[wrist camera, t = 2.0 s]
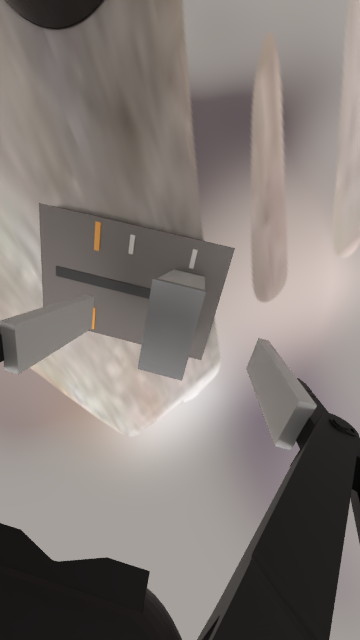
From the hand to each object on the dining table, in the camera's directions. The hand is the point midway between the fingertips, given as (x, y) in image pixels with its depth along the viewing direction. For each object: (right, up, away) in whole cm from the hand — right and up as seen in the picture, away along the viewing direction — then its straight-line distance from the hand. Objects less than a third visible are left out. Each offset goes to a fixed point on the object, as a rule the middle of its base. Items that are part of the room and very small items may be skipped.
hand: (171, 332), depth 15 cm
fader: (+1, +3, +7) cm, 8 cm away
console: (-5, +6, +11) cm, 13 cm away
